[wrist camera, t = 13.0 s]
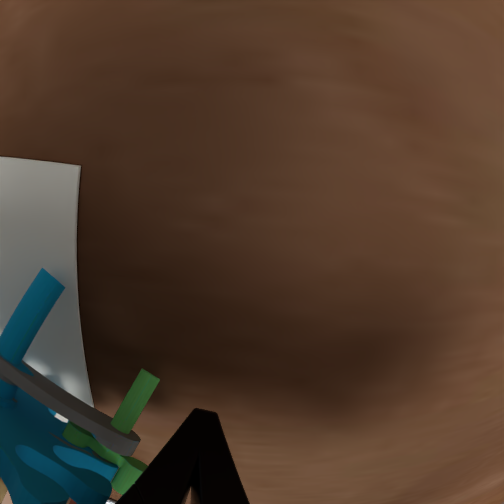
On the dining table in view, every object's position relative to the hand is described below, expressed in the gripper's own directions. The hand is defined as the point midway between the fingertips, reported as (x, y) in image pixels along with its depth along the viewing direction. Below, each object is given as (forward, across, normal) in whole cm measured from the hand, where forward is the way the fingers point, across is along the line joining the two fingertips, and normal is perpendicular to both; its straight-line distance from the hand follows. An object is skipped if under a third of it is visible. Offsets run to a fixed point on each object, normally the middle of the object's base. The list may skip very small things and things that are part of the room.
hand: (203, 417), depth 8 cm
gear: (+2, +6, +1) cm, 7 cm away
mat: (+2, +10, 0) cm, 11 cm away
